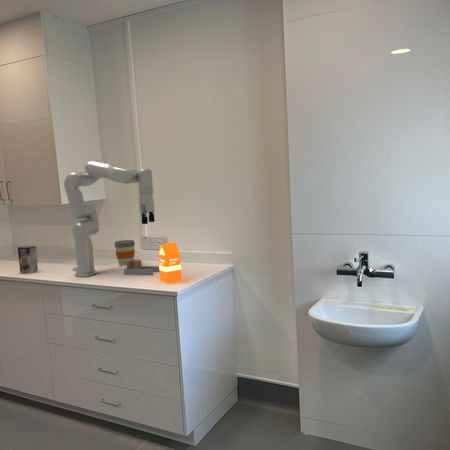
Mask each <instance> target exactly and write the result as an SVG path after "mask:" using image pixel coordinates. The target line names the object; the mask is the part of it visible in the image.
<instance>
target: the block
mask: <svg viewBox="0 0 450 450" xmlns="http://www.w3.org/2000/svg"><path fill="white" fill-rule="evenodd" d="M126 264H127V265H126V269H142V267H141V266H142V260H141V259H134V260H130V261H127V262H126Z"/></svg>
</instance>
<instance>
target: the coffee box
mask: <svg viewBox="0 0 450 450" xmlns="http://www.w3.org/2000/svg"><path fill="white" fill-rule="evenodd" d="M37 251H38V250H37V245H36V246H35V245H33V246H31V245H30V246H29V245H28V246H27V245H25V246H20V247H17V255H18V264H19V265H18V266H19V273H20V274H28V273H32V274H34V273H33V272H35V273H38V272H39V264H38V263H39V262H38V253H37ZM37 271H38V272H37Z"/></svg>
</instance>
